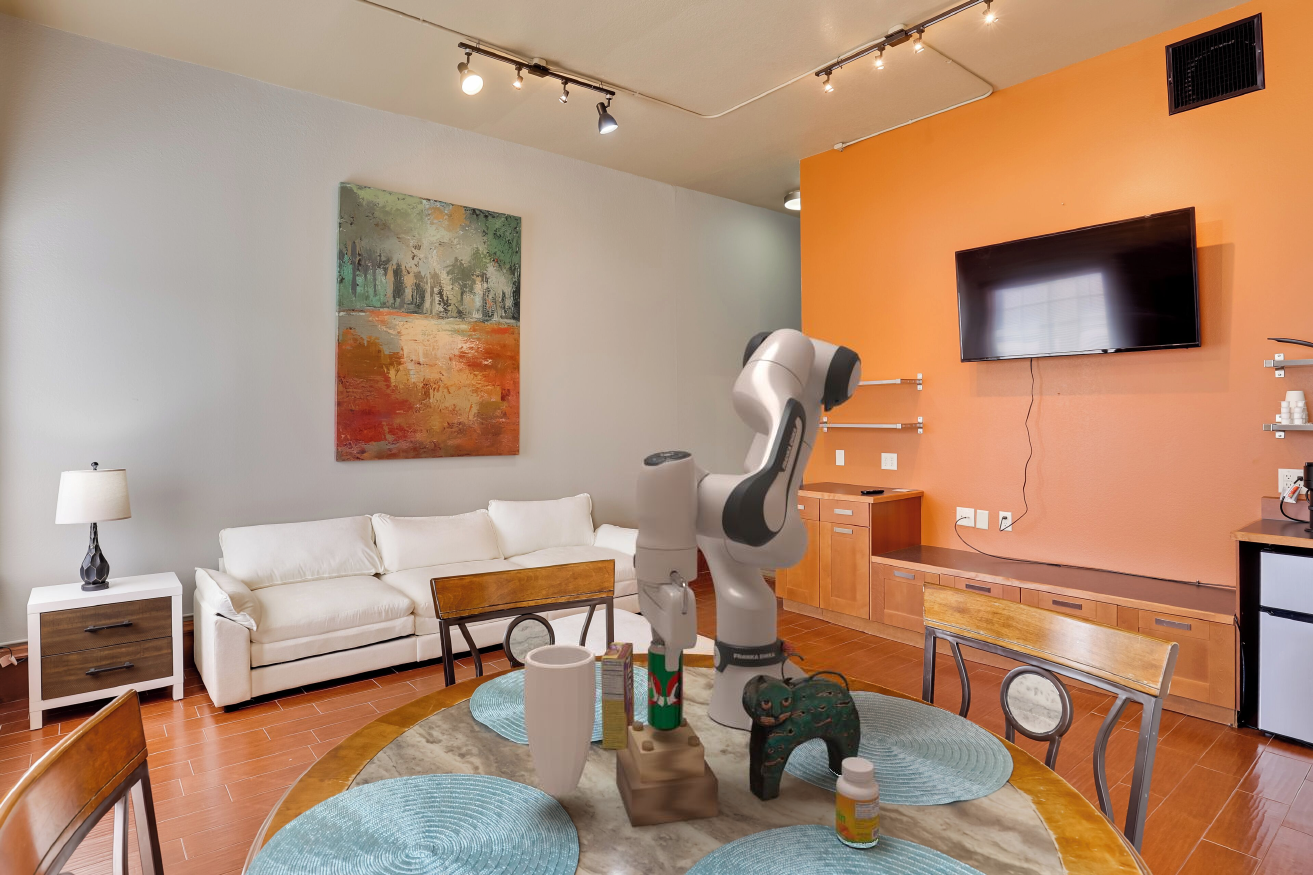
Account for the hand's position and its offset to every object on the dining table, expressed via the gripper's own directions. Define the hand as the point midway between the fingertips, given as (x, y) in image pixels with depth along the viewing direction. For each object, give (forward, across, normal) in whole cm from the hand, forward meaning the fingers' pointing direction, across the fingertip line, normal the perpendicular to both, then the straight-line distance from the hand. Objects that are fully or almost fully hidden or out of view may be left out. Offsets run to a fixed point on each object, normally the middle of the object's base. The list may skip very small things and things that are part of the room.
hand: (665, 661), depth 102 cm
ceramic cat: (+20, 0, -21) cm, 29 cm away
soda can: (+9, 0, 0) cm, 9 cm away
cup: (+20, +1, +15) cm, 25 cm away
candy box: (+20, +21, +3) cm, 29 cm away
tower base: (+20, 0, 0) cm, 20 cm away
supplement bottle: (+20, -15, -22) cm, 33 cm away
